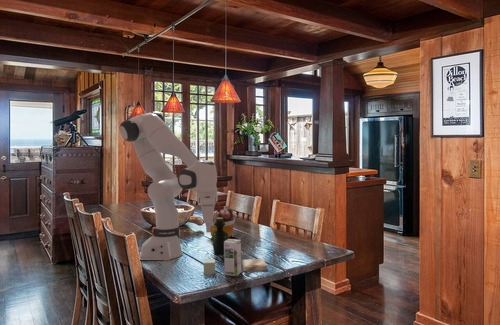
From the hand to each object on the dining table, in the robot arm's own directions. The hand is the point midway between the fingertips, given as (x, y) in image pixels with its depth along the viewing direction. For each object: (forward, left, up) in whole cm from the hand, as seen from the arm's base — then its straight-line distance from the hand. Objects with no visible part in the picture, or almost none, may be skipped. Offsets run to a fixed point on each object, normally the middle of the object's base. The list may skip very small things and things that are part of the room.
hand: (208, 229), depth 170 cm
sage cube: (0, 0, -19) cm, 19 cm away
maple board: (+20, +3, -19) cm, 28 cm away
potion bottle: (+6, +27, -19) cm, 34 cm away
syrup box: (+10, -4, -19) cm, 22 cm away
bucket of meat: (+8, +61, -19) cm, 64 cm away
